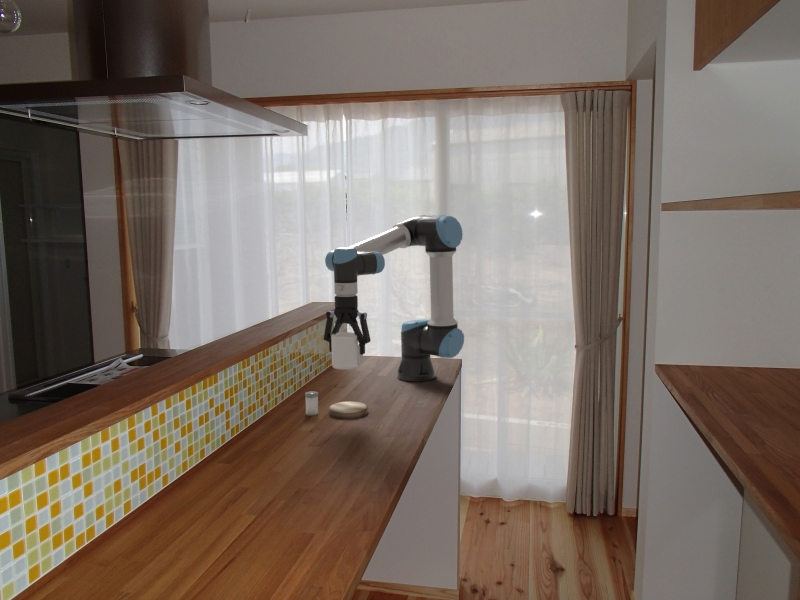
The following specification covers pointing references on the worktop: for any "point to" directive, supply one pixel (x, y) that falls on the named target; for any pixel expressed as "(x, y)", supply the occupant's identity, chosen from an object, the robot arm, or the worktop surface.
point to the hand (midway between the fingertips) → (347, 362)
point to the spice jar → (311, 403)
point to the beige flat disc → (348, 410)
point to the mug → (344, 350)
